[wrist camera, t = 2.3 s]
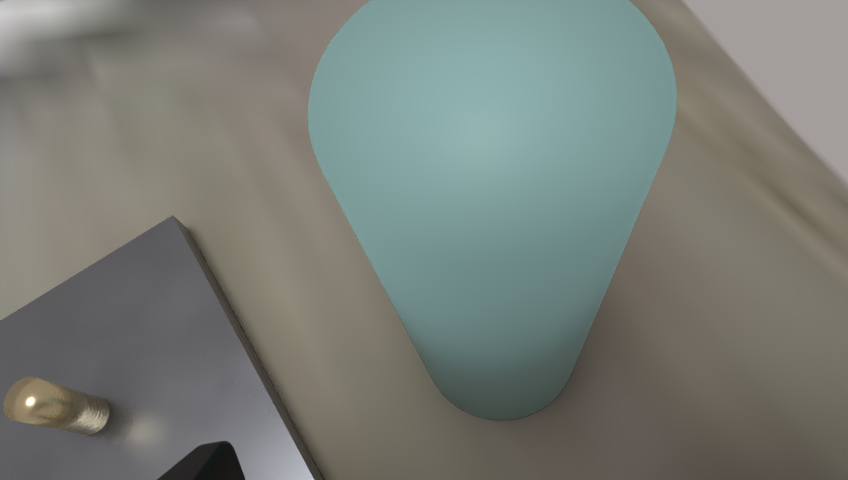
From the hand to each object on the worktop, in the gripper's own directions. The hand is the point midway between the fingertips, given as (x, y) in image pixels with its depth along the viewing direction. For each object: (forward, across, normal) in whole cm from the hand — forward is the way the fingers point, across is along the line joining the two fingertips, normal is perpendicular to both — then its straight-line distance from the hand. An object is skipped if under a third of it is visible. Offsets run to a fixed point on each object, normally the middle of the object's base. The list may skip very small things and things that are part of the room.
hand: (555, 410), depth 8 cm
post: (+11, 0, +5) cm, 12 cm away
